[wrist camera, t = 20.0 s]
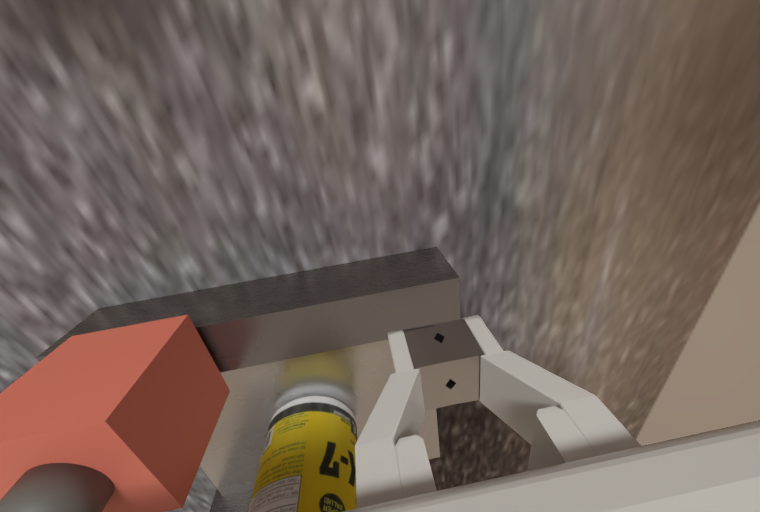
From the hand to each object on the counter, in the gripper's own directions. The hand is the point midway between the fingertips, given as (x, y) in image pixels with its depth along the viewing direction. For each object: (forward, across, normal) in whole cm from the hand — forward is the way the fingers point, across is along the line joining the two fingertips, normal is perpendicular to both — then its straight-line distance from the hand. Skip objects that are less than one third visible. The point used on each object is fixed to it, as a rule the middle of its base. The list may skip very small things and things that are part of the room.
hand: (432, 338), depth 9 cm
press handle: (+2, +10, +1) cm, 10 cm away
